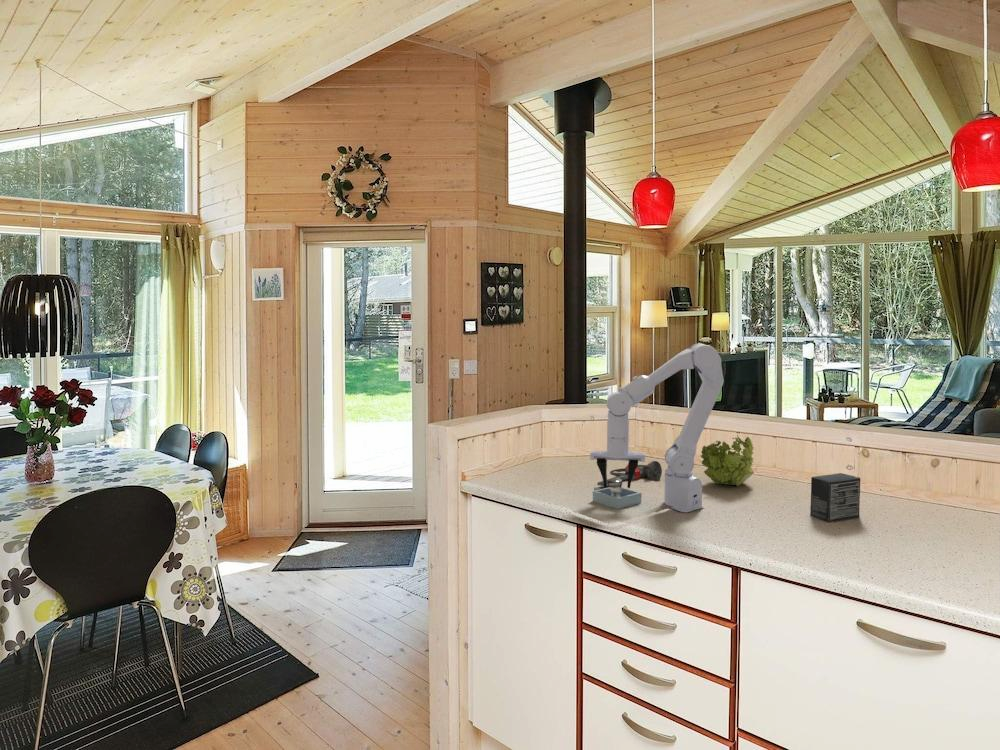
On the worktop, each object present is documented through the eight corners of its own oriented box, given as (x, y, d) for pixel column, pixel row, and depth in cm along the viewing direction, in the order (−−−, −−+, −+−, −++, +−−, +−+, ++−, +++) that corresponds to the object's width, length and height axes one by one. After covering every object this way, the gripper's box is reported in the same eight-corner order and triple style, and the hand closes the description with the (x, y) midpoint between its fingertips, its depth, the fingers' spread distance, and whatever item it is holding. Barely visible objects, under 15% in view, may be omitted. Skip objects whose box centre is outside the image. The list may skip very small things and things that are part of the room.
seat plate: (623, 495, 193) (623, 488, 193) (608, 499, 190) (608, 492, 189) (607, 490, 198) (607, 484, 198) (593, 494, 194) (593, 487, 194)
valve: (634, 475, 225) (671, 477, 213) (579, 492, 209) (615, 495, 197) (631, 456, 225) (668, 457, 213) (576, 471, 209) (612, 474, 197)
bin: (641, 505, 184) (641, 492, 183) (617, 511, 178) (617, 498, 178) (616, 497, 191) (616, 485, 191) (592, 503, 185) (592, 491, 185)
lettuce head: (762, 479, 192) (718, 441, 194) (725, 507, 202) (683, 471, 204) (772, 447, 206) (731, 412, 208) (737, 475, 216) (698, 441, 217)
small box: (839, 511, 178) (841, 471, 177) (860, 518, 172) (862, 477, 171) (808, 515, 174) (810, 475, 173) (828, 523, 168) (830, 481, 167)
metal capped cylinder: (626, 500, 184) (625, 480, 183) (618, 505, 182) (616, 485, 180) (615, 497, 187) (613, 477, 186) (607, 502, 185) (605, 482, 183)
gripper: (645, 435, 185) (644, 484, 186) (592, 433, 188) (591, 481, 189) (645, 440, 178) (644, 490, 179) (589, 438, 181) (589, 487, 183)
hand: (617, 486), depth 184 cm, fingers open, 6 cm apart
